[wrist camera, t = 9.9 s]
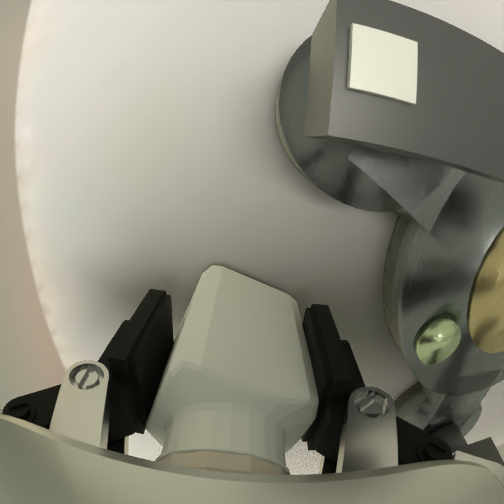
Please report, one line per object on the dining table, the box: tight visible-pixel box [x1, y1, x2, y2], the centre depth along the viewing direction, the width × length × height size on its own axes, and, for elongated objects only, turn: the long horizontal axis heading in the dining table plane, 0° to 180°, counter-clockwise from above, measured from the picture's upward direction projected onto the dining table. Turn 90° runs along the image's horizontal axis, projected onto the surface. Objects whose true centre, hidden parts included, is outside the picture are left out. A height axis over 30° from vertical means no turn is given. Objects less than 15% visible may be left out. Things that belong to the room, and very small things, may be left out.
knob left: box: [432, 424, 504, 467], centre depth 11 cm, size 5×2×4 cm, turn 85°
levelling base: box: [275, 36, 504, 436], centre depth 11 cm, size 23×21×3 cm
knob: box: [303, 0, 504, 183], centre depth 5 cm, size 5×2×4 cm, turn 85°
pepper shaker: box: [146, 265, 319, 475], centre depth 8 cm, size 4×4×10 cm
